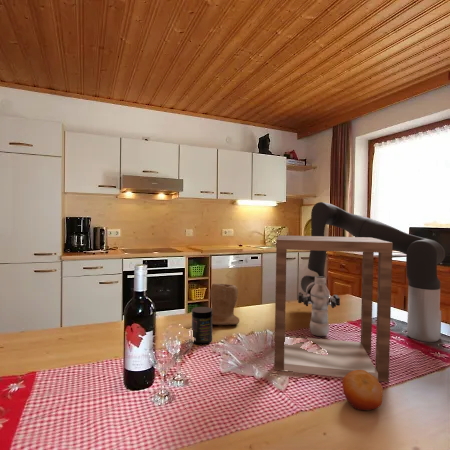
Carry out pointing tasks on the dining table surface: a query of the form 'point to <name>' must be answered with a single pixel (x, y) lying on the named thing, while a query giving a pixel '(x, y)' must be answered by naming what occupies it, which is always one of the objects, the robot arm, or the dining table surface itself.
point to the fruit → (362, 390)
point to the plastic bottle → (319, 307)
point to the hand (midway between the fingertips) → (320, 304)
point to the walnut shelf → (356, 351)
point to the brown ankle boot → (223, 304)
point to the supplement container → (202, 325)
